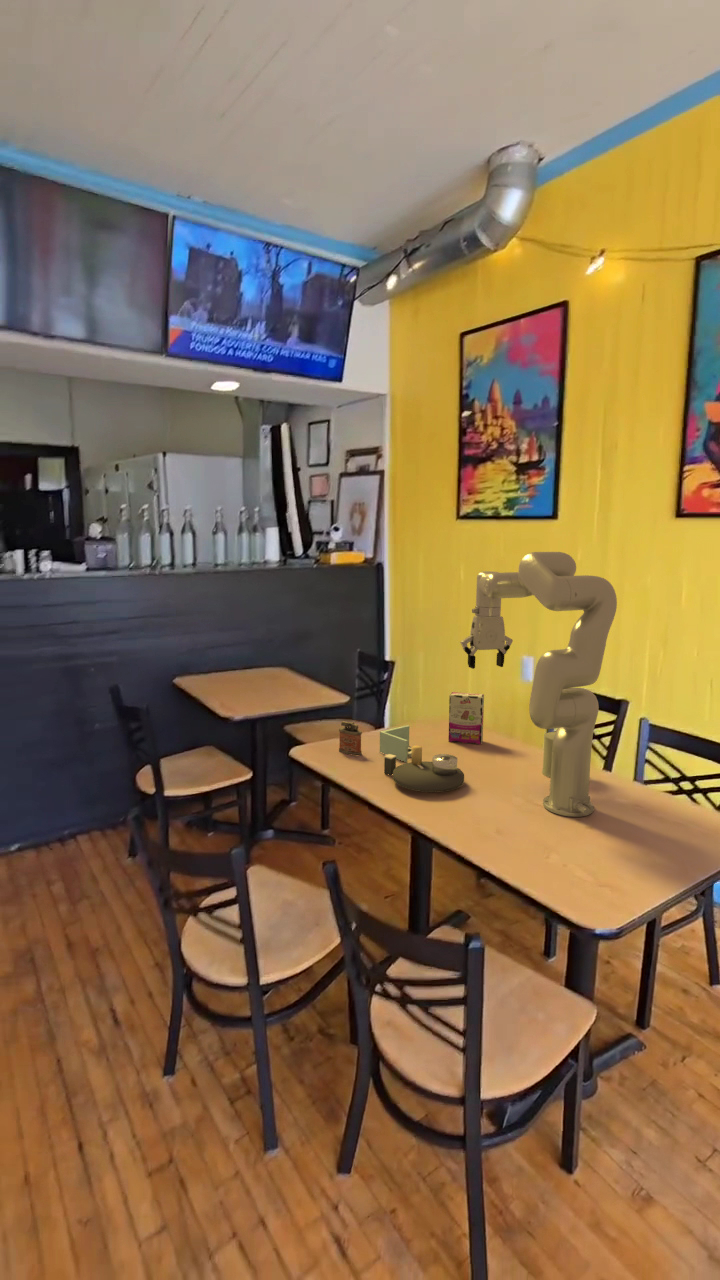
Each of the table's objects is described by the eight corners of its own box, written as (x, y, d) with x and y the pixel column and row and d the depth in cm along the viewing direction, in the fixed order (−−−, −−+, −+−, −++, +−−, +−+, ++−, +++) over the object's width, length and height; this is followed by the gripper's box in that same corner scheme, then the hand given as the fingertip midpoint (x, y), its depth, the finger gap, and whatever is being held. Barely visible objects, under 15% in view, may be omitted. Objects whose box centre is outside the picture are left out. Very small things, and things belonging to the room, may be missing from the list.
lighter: (363, 753, 218) (363, 723, 216) (357, 756, 215) (358, 725, 214) (342, 749, 222) (342, 719, 221) (336, 751, 219) (336, 721, 218)
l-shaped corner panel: (405, 764, 210) (405, 740, 209) (379, 754, 219) (379, 731, 218) (432, 756, 218) (433, 733, 216) (406, 747, 227) (407, 725, 226)
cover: (461, 774, 192) (461, 760, 191) (438, 777, 190) (438, 762, 189) (450, 766, 198) (450, 752, 198) (428, 768, 196) (428, 754, 195)
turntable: (476, 787, 186) (477, 764, 185) (408, 795, 180) (409, 772, 179) (445, 763, 205) (445, 742, 204) (382, 770, 199) (383, 748, 198)
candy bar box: (482, 740, 232) (484, 693, 230) (481, 745, 228) (483, 697, 225) (450, 737, 235) (451, 691, 233) (447, 741, 231) (449, 694, 228)
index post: (396, 773, 201) (396, 755, 200) (391, 775, 199) (391, 758, 198) (388, 771, 202) (389, 753, 201) (383, 773, 200) (384, 756, 199)
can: (578, 779, 197) (580, 739, 195) (546, 779, 197) (548, 739, 195) (569, 768, 206) (571, 730, 204) (538, 768, 206) (540, 729, 204)
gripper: (467, 614, 203) (465, 670, 205) (519, 612, 208) (516, 667, 211) (456, 611, 210) (455, 666, 212) (507, 609, 215) (504, 663, 218)
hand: (485, 666), depth 211 cm, fingers open, 9 cm apart
